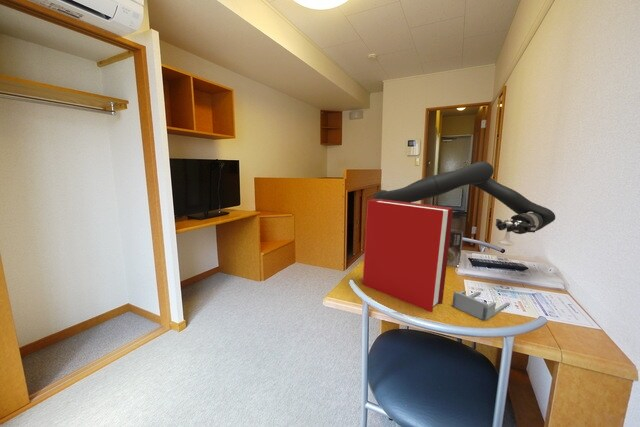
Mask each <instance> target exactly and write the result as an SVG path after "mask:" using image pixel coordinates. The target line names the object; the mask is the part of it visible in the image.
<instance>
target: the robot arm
mask: <svg viewBox="0 0 640 427" xmlns="http://www.w3.org/2000/svg"><path fill="white" fill-rule="evenodd" d="M494 170H495V168H494V166H493V165H492V164H490V163H489V162H487V161H481V160H480V161H477V162H476V161H475V162H474V163H472V164H469V165H466V166H464V167H461V168H459V169H455V170H451V171H447V172H442V173H438V174H433V175H431V176H427V177H424V178H421V179H418V180H417V181H414V182H412V183H410V184H408V185H407V186H404V187H401V188H397V189H393V190H385V189H380V190H378V191H376V192H375V193H374V195H373V197H372V199H384V200H393V201H401V202H409V203H417V202H420V201H424V200H427V199H432V198H435V197H438V196H441V195H444V194H447V193H449V192H451V191H453V190H455V189H458V188H460V187H463V186H468V185H472V186H474V187H475V188H478V189H480V190H481V191H483V192H484V193H487V194H488V195H490V196H492V197H493V198H494V199H497V200H498V201H499V202H500V203H502V204H503V205H505V206H506V207H507V208H509V209H510V210H511V211H513V213H515V214H514V215H513V216H511V219H513V220H512V221H511V223H513V224H512V225H508V226H507V225H506V222H509V221H508V220H507V219H506V220H502V219H499V218H496V219H495V227H496V228H497V229H498V231H504V230H505V228H507V230H505V231H507V232H512V233H514V234H516V235H517V234H518V235H523V234H527V233H534V234H535V233H536V232H537V231H540V230H541V229H543V228H544V227H546V226H548V225H550V224H551V223H553V222H554V221H555V220H556V214H555V212H553V211H552V210H551V209H549V208H547V207H545V206H543V205H540V204H537V203H535V202H532V201H531V200H529V199H528V198H526V197H525V196H523V194H521V193H519V192H518V191H516V190H515V189H512V188H511V187H508V186H506V185H503V184H501V183H499V182H498V181H496V180H495V179H493V178H492V176H493V175H494Z"/></svg>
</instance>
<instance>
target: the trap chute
mask: <svg viewBox="0 0 640 427" xmlns="http://www.w3.org/2000/svg"><path fill="white" fill-rule="evenodd" d="M481 294H482V293H481V291H475V293H472V294H470V295H466V290H462V291H456V290H455V291H453V296H452V297H453V298H452V304H451V306H452V307H453V308H455V309H458V310H460V311H462V312H464V313H466V314H468V315H471V316H473V317H475V318H477V319H479V320H481V321H484V322H485V321H488V320H489V319H491V318H492V317H494V316H495V315H497V314H498V313H500V312H502V311H503V310H505V309H507V308H508V307H510V306H509V305H511V303H510V302H505V303H503V304H502V305H500V306H499V307H497V308H496V305H497V303H496V302H495V301H492V302H490V303H488V304H487V303H486V302H483V301H481V300H478V299H476V297H478V296H479V295H481ZM507 306H508V307H507ZM506 307H507V308H506ZM504 308H505V309H504ZM501 310H502V311H501Z"/></svg>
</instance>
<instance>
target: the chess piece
mask: <svg viewBox="0 0 640 427" xmlns="http://www.w3.org/2000/svg"><path fill="white" fill-rule="evenodd" d="M511 217H512V216H511ZM511 217H509V218H507V219H506V220H508V221H509V222H506V225H507V226H508V225H512V224H513V223H511V221H512V220H513V219H511ZM505 231H506V232H505V235H504V237H503V239H501V240H498V242H497V243H498V244H499V245H501V246H506V247H514V246H515V243H514V242H513V241H511V239H510V236H511V235H510V232H507V228H505Z"/></svg>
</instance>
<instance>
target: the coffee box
mask: <svg viewBox="0 0 640 427" xmlns="http://www.w3.org/2000/svg"><path fill="white" fill-rule="evenodd" d="M463 236H464V230H463V229H462V230H461V229H453V228H451V233H450V242H449V250H448V259H447V266H448V267H454V268H457V267H456V266H457V265H459V263H460V264H461V255H462V246H463ZM459 266H460V265H459Z"/></svg>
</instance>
